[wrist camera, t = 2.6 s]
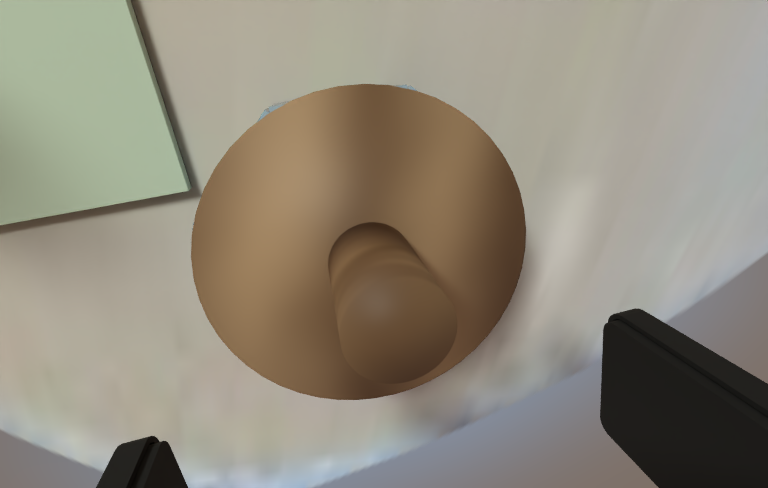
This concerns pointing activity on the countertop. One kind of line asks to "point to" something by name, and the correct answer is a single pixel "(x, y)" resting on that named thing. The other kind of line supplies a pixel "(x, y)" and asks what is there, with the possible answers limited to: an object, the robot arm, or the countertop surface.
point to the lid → (358, 242)
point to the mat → (79, 111)
